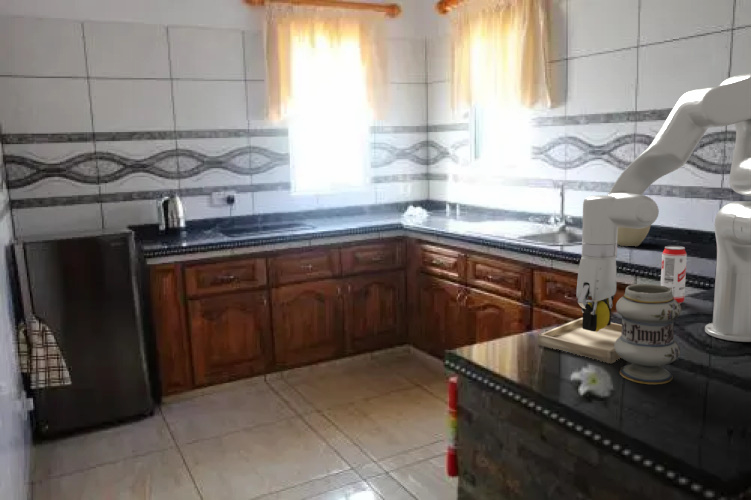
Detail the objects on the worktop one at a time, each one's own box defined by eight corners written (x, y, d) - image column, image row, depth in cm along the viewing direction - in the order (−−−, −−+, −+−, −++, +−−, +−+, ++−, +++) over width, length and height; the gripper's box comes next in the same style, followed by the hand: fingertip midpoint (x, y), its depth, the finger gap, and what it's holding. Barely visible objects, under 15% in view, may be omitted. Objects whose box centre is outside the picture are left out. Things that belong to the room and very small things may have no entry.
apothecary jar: (614, 361, 132) (617, 279, 129) (676, 368, 128) (681, 283, 125) (612, 382, 121) (615, 293, 118) (680, 390, 117) (686, 297, 114)
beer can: (656, 303, 177) (659, 247, 174) (664, 298, 181) (666, 244, 179) (679, 306, 173) (683, 250, 170) (687, 301, 177) (690, 246, 174)
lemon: (603, 327, 147) (604, 294, 145) (612, 334, 141) (614, 300, 140) (580, 328, 147) (581, 295, 145) (588, 335, 141) (589, 301, 140)
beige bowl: (619, 240, 282) (620, 214, 280) (658, 244, 268) (659, 217, 266) (597, 245, 271) (598, 218, 269) (637, 250, 257) (638, 221, 255)
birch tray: (583, 326, 158) (583, 316, 157) (654, 341, 144) (654, 331, 144) (538, 344, 145) (538, 334, 144) (610, 363, 131) (611, 352, 131)
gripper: (603, 243, 149) (600, 316, 152) (563, 253, 138) (561, 331, 141) (633, 247, 143) (630, 322, 147) (594, 257, 132) (592, 339, 135)
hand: (596, 326), depth 144 cm, fingers closed on lemon, 5 cm apart
